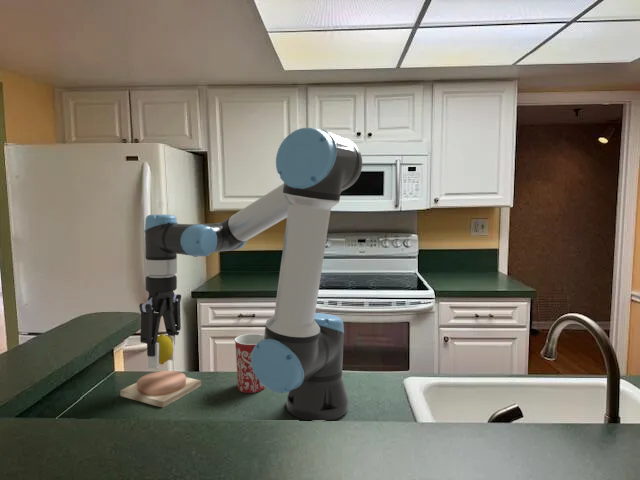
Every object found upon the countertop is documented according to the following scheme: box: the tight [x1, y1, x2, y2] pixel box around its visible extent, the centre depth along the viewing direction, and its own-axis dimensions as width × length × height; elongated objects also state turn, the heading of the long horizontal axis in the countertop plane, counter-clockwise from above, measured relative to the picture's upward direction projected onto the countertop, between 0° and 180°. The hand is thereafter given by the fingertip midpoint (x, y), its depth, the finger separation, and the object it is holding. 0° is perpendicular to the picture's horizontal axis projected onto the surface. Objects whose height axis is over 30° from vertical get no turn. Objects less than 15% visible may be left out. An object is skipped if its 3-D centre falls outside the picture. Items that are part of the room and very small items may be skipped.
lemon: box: [156, 333, 173, 366], centre depth 113 cm, size 6×6×8 cm
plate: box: [119, 370, 202, 409], centre depth 114 cm, size 14×14×3 cm
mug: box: [234, 333, 266, 394], centre depth 118 cm, size 13×9×14 cm
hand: (161, 363), depth 114 cm, fingers closed on lemon, 5 cm apart
